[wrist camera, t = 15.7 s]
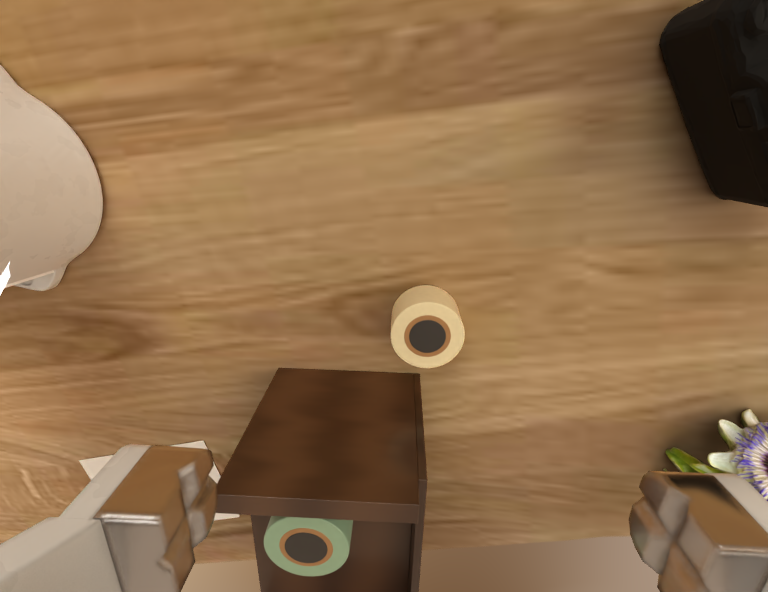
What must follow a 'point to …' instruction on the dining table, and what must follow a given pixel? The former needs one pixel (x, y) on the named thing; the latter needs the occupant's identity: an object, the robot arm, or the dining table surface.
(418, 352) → the cream tape roll
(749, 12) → the film camera
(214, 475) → the napkin holder
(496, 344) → the dining table surface
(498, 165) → the dining table surface
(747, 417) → the passion flower
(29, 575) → the robot arm
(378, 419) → the shelf
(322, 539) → the sage tape roll
